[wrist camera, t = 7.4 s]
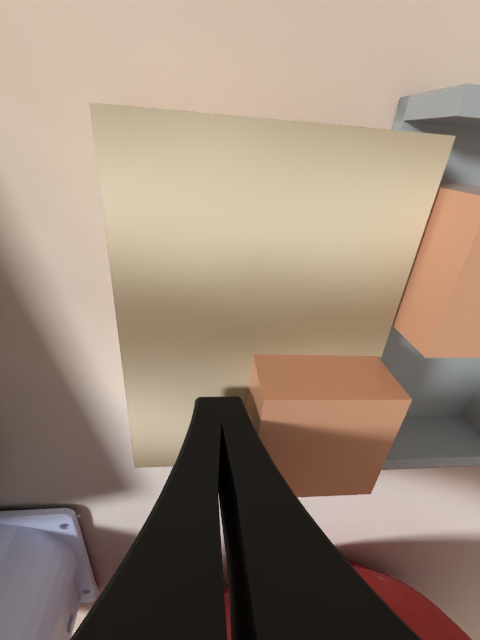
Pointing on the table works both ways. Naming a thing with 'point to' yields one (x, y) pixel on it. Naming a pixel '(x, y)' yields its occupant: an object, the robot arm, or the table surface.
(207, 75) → the table surface
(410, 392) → the tray
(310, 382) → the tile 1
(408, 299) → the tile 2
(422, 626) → the mixing bowl
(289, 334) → the board
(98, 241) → the table surface
